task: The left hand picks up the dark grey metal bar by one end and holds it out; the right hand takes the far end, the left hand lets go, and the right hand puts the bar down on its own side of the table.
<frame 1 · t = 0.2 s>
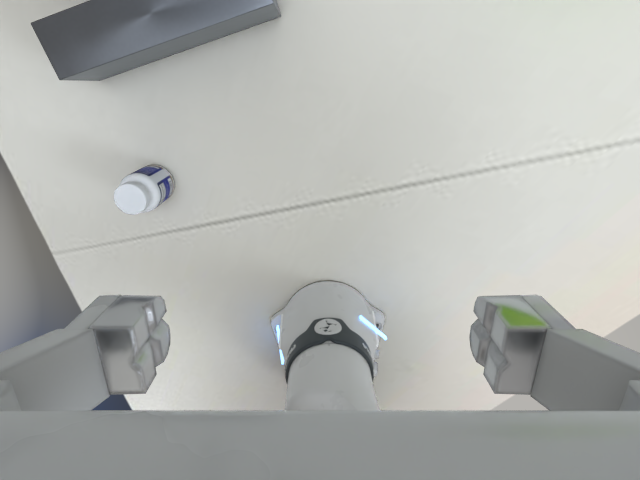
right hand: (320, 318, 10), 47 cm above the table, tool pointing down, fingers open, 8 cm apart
bar: (178, 24, 49), on the table
pill bottle: (157, 182, 57), on the table
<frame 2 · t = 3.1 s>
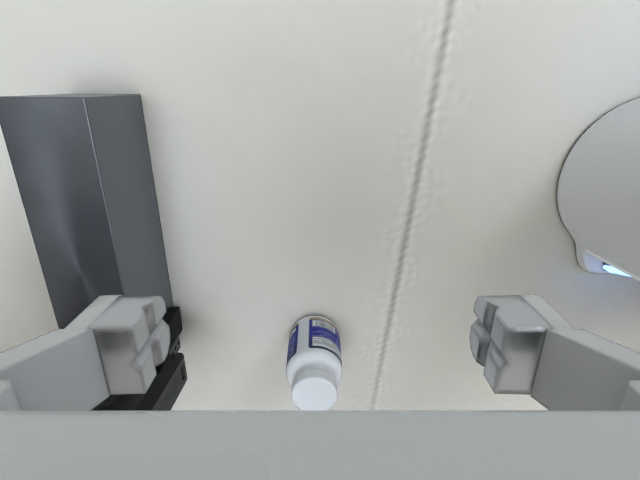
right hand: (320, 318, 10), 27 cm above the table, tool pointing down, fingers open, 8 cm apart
bar: (131, 234, 38), on the table, touching left hand
pill bottle: (314, 334, 42), on the table
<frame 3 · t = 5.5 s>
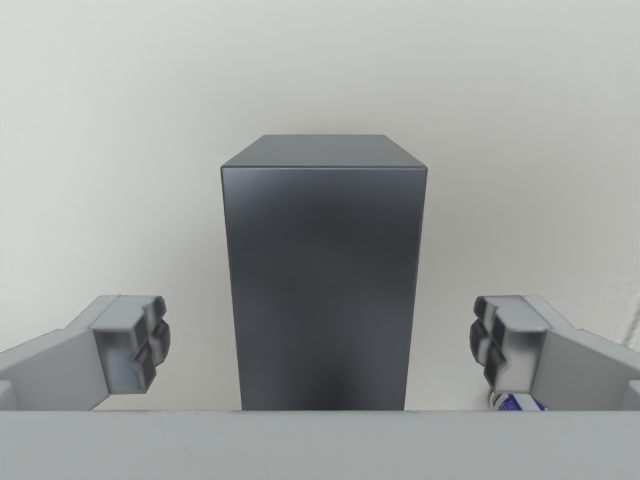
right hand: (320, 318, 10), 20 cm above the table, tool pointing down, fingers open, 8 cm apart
bar: (323, 352, 24), point 9 cm above the table, touching left hand
pill bottle: (516, 396, 36), on the table
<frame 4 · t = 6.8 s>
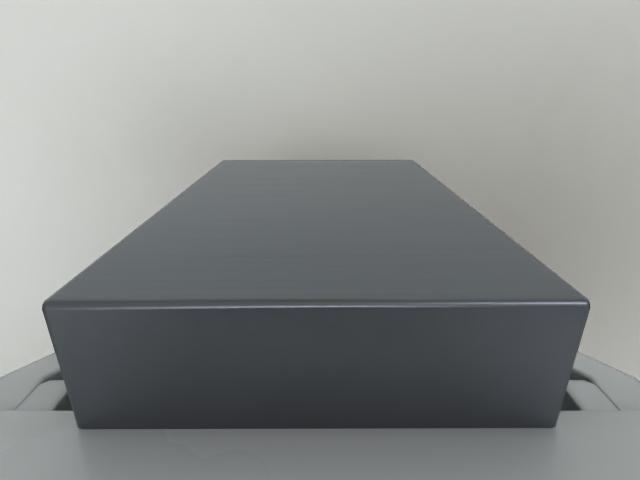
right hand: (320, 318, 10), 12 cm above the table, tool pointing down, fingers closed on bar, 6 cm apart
bar: (318, 458, 17), point 9 cm above the table, touching right hand, left hand
when the left hand's fingers open (9 cm above the table, at t = 7.9 s): bar stays where it is, held by the right hand.
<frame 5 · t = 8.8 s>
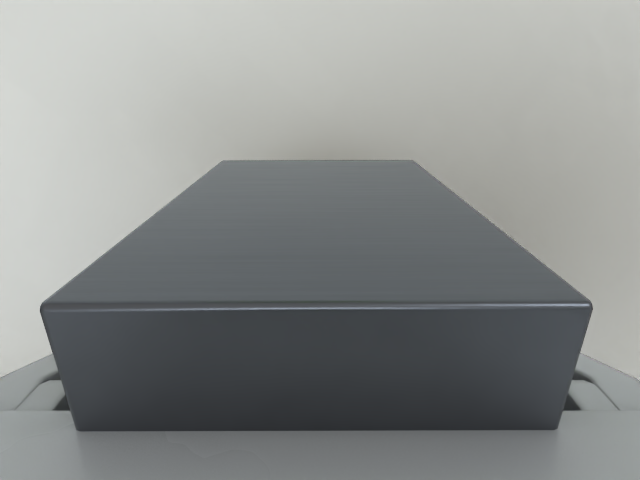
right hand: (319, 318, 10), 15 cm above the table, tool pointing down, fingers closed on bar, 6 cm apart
bar: (318, 459, 17), point 12 cm above the table, touching right hand
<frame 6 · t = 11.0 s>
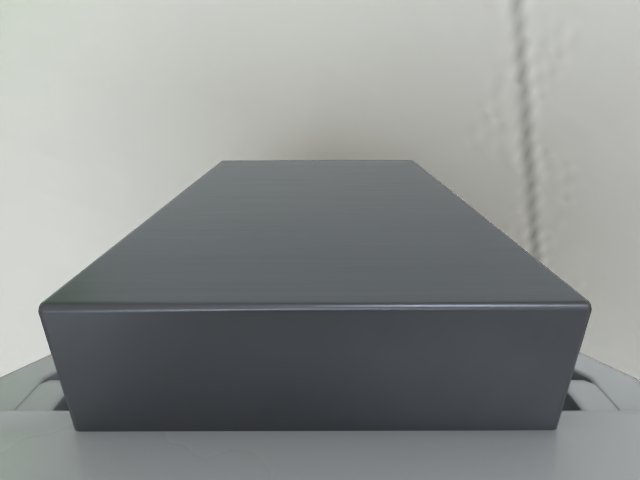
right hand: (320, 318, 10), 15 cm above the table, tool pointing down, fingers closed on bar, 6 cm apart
bar: (318, 459, 17), point 12 cm above the table, touching right hand
when the right hand's fingers open (5 cm above the table, at t = 15.3 s): bar stays where it is, on the table.
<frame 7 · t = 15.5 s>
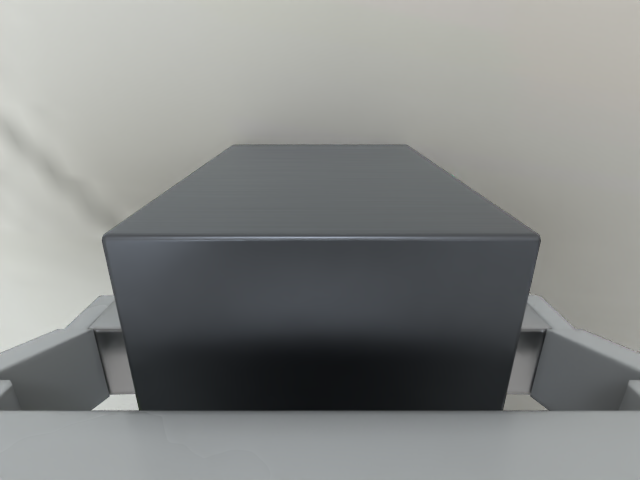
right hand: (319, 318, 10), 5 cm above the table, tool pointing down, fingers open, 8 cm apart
bar: (319, 430, 18), on the table
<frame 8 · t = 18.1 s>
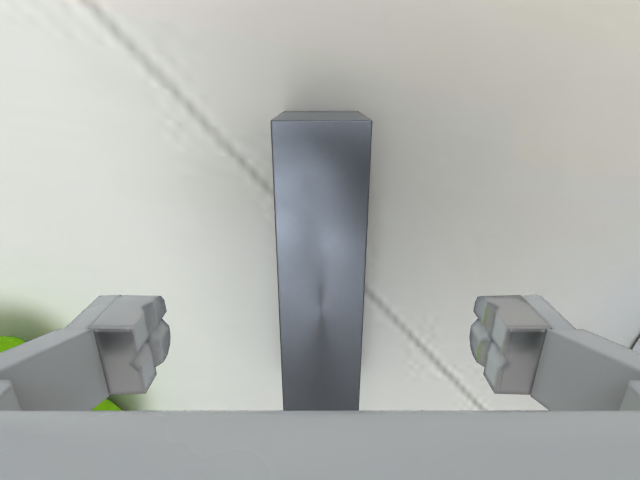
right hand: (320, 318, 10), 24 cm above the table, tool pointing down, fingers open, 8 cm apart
bar: (320, 259, 35), on the table
decorative tree: (77, 424, 43), on the table
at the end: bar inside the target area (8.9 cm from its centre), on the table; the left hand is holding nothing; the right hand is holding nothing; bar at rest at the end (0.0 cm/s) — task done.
